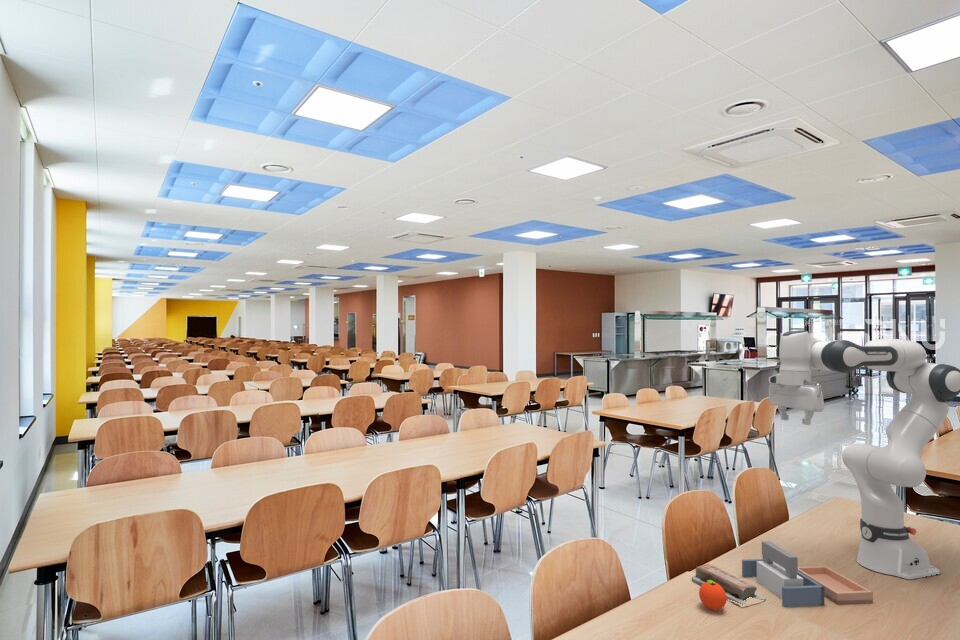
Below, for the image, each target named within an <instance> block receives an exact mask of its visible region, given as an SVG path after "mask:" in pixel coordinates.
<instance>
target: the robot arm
mask: <svg viewBox="0 0 960 640" xmlns="http://www.w3.org/2000/svg"><path fill="white" fill-rule="evenodd" d="M778 351H779V353H778V355H779V358H778V359H779V360H780V366H779V373H776V374H774V375H772V376H768V382H769V385H768V401H769V403H770V405H773V406H777V410H778V412H779V415H780V420H782V421H789V416H790V415H789V414H787V411H786V410H788V409H787V408H790V409H795V410H799V411H800V410H801V411H804V418H802V419H801V421H802V422H801V424H802V425H805V426H811V424H812V423H811V422H812V418H813V416H814V414H815V413H822V412H823V411H824V410H825V403H824V402H825V401H824V395H823V391H822V386H821V385H820V384H819V382H817V381H812V370H816V371H828V372H836V373H843V374H845V373H850V372H851V373H852V372H853V371H855V370H858V369H860V368H862V367H867V368H868V369H870V370H873V371H878V372H880V371H881V372H886V373H885V374H886V375H885V376H886V377H885V378H886V382H887V384H888V386H889V387H890V389H892V390H894V391H896V392H899V393H903V394H910V399H909V401H908V403H906V404H905V405H904V406H903V407H902V408H901V409H900V411H898V413H897V414H896V415H895V416H894V417H893V418H892V419H891V421H890V422H889V423H888V424H887V426H886V427H885V433H886V436H887V438H888V440H889V441H888V444H887V445H885V446H883V447H882V446H877V445H873V444H870V443H851V444H848V445H846V446H845V448H844V449H843V451H842V455H841V459H842V462H843V465H844V466H845V468H847V470H848V471H850V473H851V475H852V476H853V478H854V482H856V485H857V488H858V491H859V495H860V504H861V505H860V506H861V518H860V520H859V521H860V523H859V527H860V528H859V530H860V538H859V539H860V540H859V548H858V552H857V557H856V559H855V560H856V562H857V563H858V565H860V566H862V567H864V568H866V569H868V570H871V571H873V572H877V573H880V574H886V575H890V576H894V577H895V576H896V577H898V578H903V579H905V580H914V579H915V580H916V579H920V578H925V577H926V576H927V577H931V575H932V576H936V574H938V575H941V572H940V570H939V569H938V568H937V567H936V566H934V565H932V564H931V563H930V557H929V552H928V551H927V550H925V549H924V548H923V547H922V546H921V545H919V544H917V543H916V541H914V540H912V539H911V538H910V535H912V536H915V535H916V534H917V528H913V527H911V526H907V527H906V526H905V513H904V511H905V510H904V509H905V508H904V507H905V506H904V502H903V500H902V498H900V497H899V496H898V494H897V493H896V492H895V491H894V489H893V488H892V486H891V485H894V486H897V487H906V488H915V487H919V486H920V485H922V483H924V481H925V479H926V476H927V470H926V466H925V464H924V463H923V461H922V453H923V451H924V449H925V447H926V446H927V445H928V444H929V442H930V440H932V438H933V437H934V436H935V434H936V433H937V432H938V431H939V429H940V428H941V426H942V425H943V423H944V422H945V421H946V418H947V416H948V414H949V410H950V409H949V405H948V403H949V402H950V403H951V402H953V401H954V400H955V399H956V397H957V396H958V395H960V368H959V367H956V366H953V365H949V364H945V363H934V362H933V363H932V362H927V361H926V360H927V352H926V349H925V348H924V347H923V346H922V345H921V343H918V342H915V341H911V340H908V339H901V338H900V339H899V338H878V339H872V340H869V341H867V342H866V343H864V345H859V344H857V343H855V342H853V341H850V340H844V339H841V340H821V339H818V338H816V337H814V336H812V335H811V334H810V333H809V331H807V330H804V329H802V330H801V329H800V330H791V331H786V332H784V333H782V334H781V337H780V340H779V350H778ZM909 534H910V535H909Z"/></svg>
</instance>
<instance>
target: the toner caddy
mask: <svg viewBox="0 0 960 640" xmlns="http://www.w3.org/2000/svg"><path fill="white" fill-rule="evenodd" d="M761 556H762V559H763V561H757V577H756V581H757V582H758V583H759V584H760V585H762V586H763V587H765V588H766V589H768V591H770V592H772V593H773V594H774V595H776V596H777V597H779V598H780V599H781V600H782V587H791V586H803V578H802V577H800V576H799V575H797V572H798V567H799V565H798V563H799V562H798V556H796V555H794V554H792V553H791V552H789V551H787V550H785V549H784V548H782V547H781V546H780V545H777V544H775V543H773V542H772V541H770V540H764V541H763V540H762V541H761Z"/></svg>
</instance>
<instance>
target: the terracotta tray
mask: <svg viewBox="0 0 960 640" xmlns="http://www.w3.org/2000/svg"><path fill="white" fill-rule="evenodd" d="M798 571H799V572H801V573H802V574H804V575H805V576H807V577H809V578H810V579H812V580H814V581H815V582H817V583H819V584H820V585H822V586H823V587H824V598H825V599H828V600H829V601H831V602H832V603H834V604H836V605H839V606H840V605H855V604H856V605H857V604H860V605H861V604H873V603H874V592H873V590H870V589H868V588H867V587H864V586H863V585H860V583H858V582H855V581H853V580H852V579H850V578H848V577H846V576H844V575H843V574H841V573H839V572H838V571H835V570H834V569H832V568H830V567H828V566H827V565H817V566H816V565H815V566H814V565H813V566H810V565H809V566H798Z"/></svg>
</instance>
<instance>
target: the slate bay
mask: <svg viewBox="0 0 960 640" xmlns="http://www.w3.org/2000/svg"><path fill="white" fill-rule="evenodd" d="M757 561H763V558H751V559H750V558H749V559H748V558H747V559H746V558H745V559H741V577H743V578H753V577H754V578H757ZM797 575H799V576H800V577H802V578H803V586H791V587H782V599H781V605H782V606H783V607H784V608H792V607H793V608H795V607H814V606H816V607H818V606H825V596H824V587H823V586H822V585H820V584H819V583H817V582H815V581H814V580H812V579H810V578H809V577H807V576H805V575H804V574H802V573H801V572H799V571H798V572H797Z"/></svg>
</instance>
